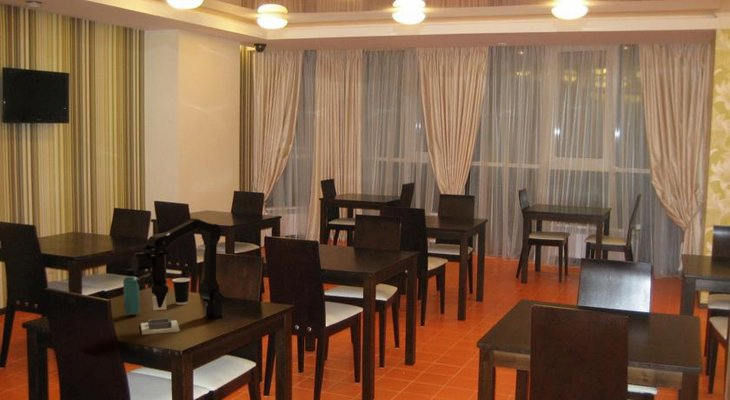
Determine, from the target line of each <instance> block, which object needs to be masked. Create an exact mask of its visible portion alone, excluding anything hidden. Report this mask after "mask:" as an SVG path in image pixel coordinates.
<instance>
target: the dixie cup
mask: <svg viewBox="0 0 730 400" xmlns="http://www.w3.org/2000/svg"><path fill="white" fill-rule="evenodd" d="M171 281H172V284H173V285H172V286H173V293H174V297H175V303H176V305H178V306H179V305H180V306H181V305H187V304H188V301H189V294H190V293H189V292H190V281H191V278H188V277H178V278H173V279H172V280H171Z"/></svg>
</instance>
